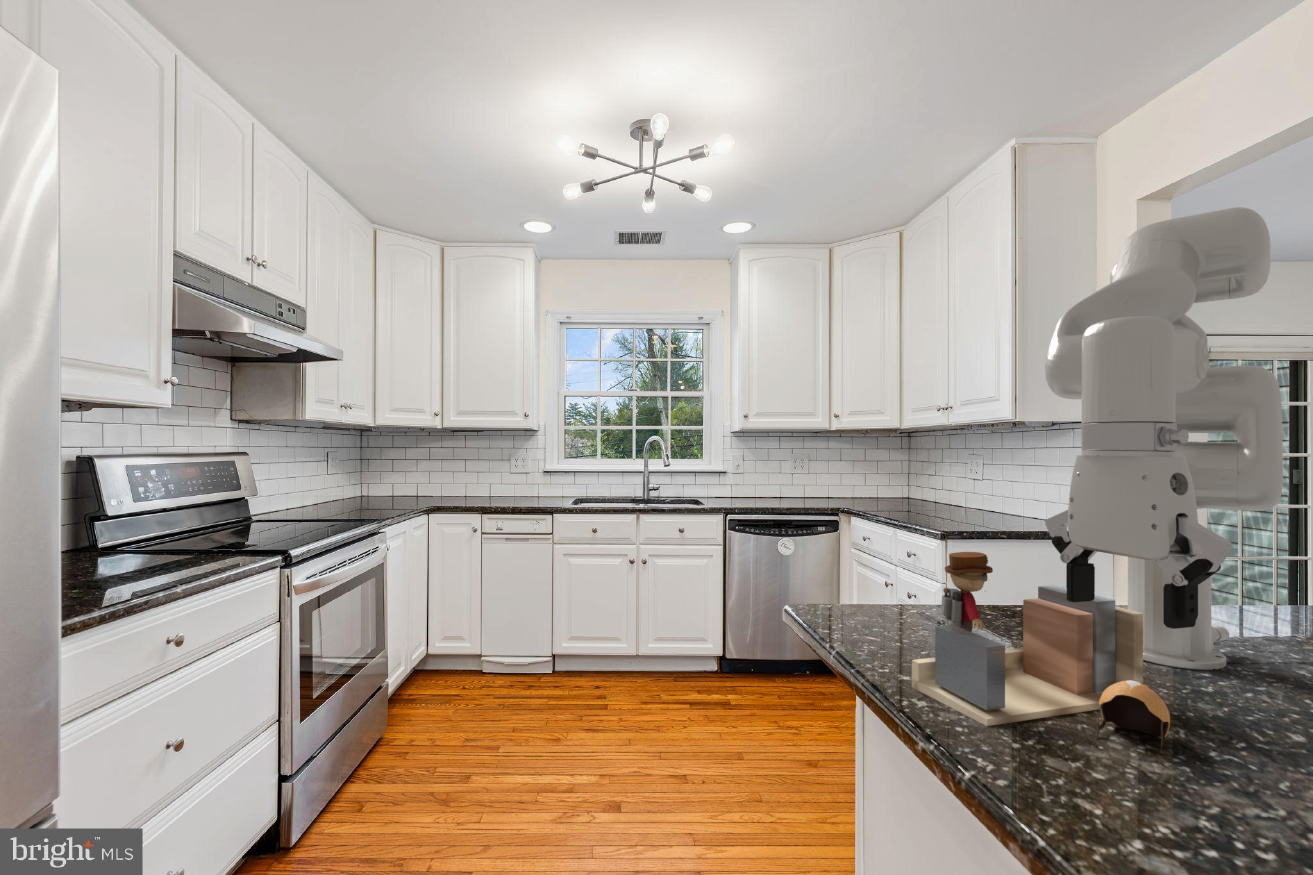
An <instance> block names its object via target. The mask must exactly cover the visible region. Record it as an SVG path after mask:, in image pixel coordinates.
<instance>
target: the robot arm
mask: <svg viewBox="0 0 1313 875" xmlns="http://www.w3.org/2000/svg"><path fill="white" fill-rule="evenodd" d="M1269 231H1270V230H1269V229H1268V226H1267V223H1266V221H1265V220H1264V218H1263V217H1262V216H1261V215H1260V214H1259V213H1258V212H1256V211H1255V210H1254V209H1251V208H1248V207H1247V208H1246V207H1231V208H1230V207H1229V208H1225V209H1224V208H1223V209H1219V210H1214V211H1209V212H1203V213H1198V214H1192V215H1186V216H1183V217H1176V218H1171V219H1167V220H1162V221H1156V222H1153V223H1150V224H1148V225H1146V226H1142V227H1141V228H1139V229H1137V230H1136V231H1134V232H1133V233H1131V234H1130V235H1129V236H1128V237H1127V238H1126V240H1125V241H1124V242H1123V244H1122V246H1121V248H1120V250H1119V251H1120V252H1119V254H1118V259H1117V262H1116V263H1115V264H1114V265H1113V267H1111V270H1110V273H1109V283H1108V284H1107V285H1105V286H1103V287H1102V288H1100V289H1099V290H1096V291H1095V292H1093V293H1091V294H1090V295H1088V296H1087V297H1085V298H1083V299H1082V300H1080V301H1079V302H1077V303H1075V304H1073V306H1070V308H1069V309H1067V310H1066V311H1065V312H1064V314H1062V315H1061V316H1060V318H1059V320H1058V321H1057V323H1056V325H1055V328H1054V330H1053V334H1052V336H1051V340H1050V342H1049V345H1048V348H1047V351H1046V358H1045V363H1044V375H1045V379H1046V380H1045V381H1046V383H1047V386H1048V387H1049V389H1050V391H1051V392H1052V393H1054V394H1055V395H1056V396H1058V397H1060V398H1063V399H1067V400H1081V452H1080V453H1081V454H1080V455H1076V458H1075V462H1074V465H1073V470H1072V476H1071V481H1070V487H1069V494H1068V496H1069V497H1068V509H1067V510H1064V511H1062V512H1060V513H1058V514H1055V515H1053V516H1051V517H1049V518H1047V519H1046V520H1045V522H1044V523H1045V526H1046V528H1047V530H1048V533H1049V536H1050V537H1051V538H1052V539H1051V544H1052V545H1053V547H1054V548H1055V549H1056V551H1057V552H1058V553H1059V554H1060V556H1059V558H1060V561H1061V562H1062V563H1064V564H1066V566H1065V567H1066V568H1065V569H1066V576H1065V578H1066V581H1065V582H1066V587H1065V588H1067V600H1068V601H1070V602H1086V601H1092V600H1094V599H1095V595H1096V593H1095V592H1096V591H1095V590H1096V589H1095V587H1096V586H1095V585H1096V581H1095V580H1096V579H1095V578H1096V576H1095V574H1096V570H1095V569H1096V568H1095V564H1094V563H1091V562H1089V561H1091V559H1092V558H1093V557H1094V556H1095V555H1096V554H1097V552H1099V553H1105V554H1110V555H1114V556H1115V555H1117V556H1119V557H1120V556H1122V557H1127V609H1128V610H1132V611H1136V612H1140V613H1143V661H1146V662H1149V663H1153V664H1156V665H1161V666H1167V667H1171V668H1177V669H1178V668H1179V669H1188V670H1196V671H1197V670H1200V671H1211V670H1213V669H1215V670H1219V669H1220V668H1221V669H1223V668H1225V667H1226V666H1227V657H1226V656H1225V654H1223V653H1222V652H1221V651H1219V650H1217V649H1214V643H1215V642H1218V641H1219V642H1220V641H1225V640H1228V639H1229V638H1230V632H1229V630H1228V629H1226V628H1225V627H1223V626H1215V627H1214V626H1212V576H1214V574H1216V573H1217V572H1220V570H1221V568H1222V564H1223V563H1224V562H1225V561H1226V559H1227V557H1228V556H1229V554H1230V553H1231V551H1232V550H1233V547H1234V545H1233V543H1232V542H1231V541H1230V540H1228V539H1226V538H1225V537H1223V536H1221V535H1219V534H1218V533H1216V532H1214V531H1212V530H1210V529H1209V528H1207V527H1205V526H1204V525H1201V523H1199V515H1198V509H1212V510H1213V509H1214V510H1226V511H1227V510H1230V511H1247V512H1248V511H1253V512H1254V511H1255V512H1258V511H1259V512H1260V511H1265V510H1266V511H1267V510H1270V509H1272V508H1275V506H1276V505H1277V504H1278V503H1279V501H1280V500H1281V497H1282V494H1283V489H1284V488H1283V486H1284V485H1283V484H1284V466H1283V465H1284V462H1283V461H1284V458H1283V456H1284V452H1283V446H1284V445H1283V410H1282V408H1283V407H1282V394H1281V393H1282V392H1281V388H1280V385H1279V382H1278V380H1277V377H1276V376H1275V374H1274V373H1273V372H1272V371H1271V370H1269V369H1268V368H1265V367H1262V366H1259V365H1229V366H1214V367H1212V366H1209V365H1210V352H1209V348H1208V336H1207V334H1206V332H1205V331H1204V330H1203V328H1202V327H1201V326H1200V325H1199V324H1198V323H1197V322H1195V321H1194V320H1193V319H1192V318H1190V317H1189V316H1188V315H1187V313H1188V312H1189V311H1190V309H1191V308H1192V307H1193V305H1194V304H1199V303H1207V302H1215V301H1216V302H1217V301H1224V300H1234V299H1241V298H1246V297H1249V296H1252V295H1254V294H1257V293H1258V292H1259V291H1261V290H1262V289H1263V287H1264V286H1265V285H1266V283H1267V281H1268V279H1269V275H1270V271H1271V236H1270V232H1269ZM1189 434H1229V435H1232V436H1234V437H1235V438H1236V439H1237V441H1231V442H1230V441H1188V440H1189V439H1190V438H1189ZM1067 529H1068V530H1067ZM1213 671H1214V670H1213Z"/></svg>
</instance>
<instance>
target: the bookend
mask: <svg viewBox="0 0 1313 875" xmlns="http://www.w3.org/2000/svg"><path fill="white" fill-rule="evenodd" d="M934 627H935V631H934V632H935V633H934V635H935V636H934V637H935V639H934V640H935V641H934V643H935V644H934V645H935V647H934V648H935V650H934V651H935V652H934V653H935V654H934V657H935V683H936V684H938V685H940V686H942V687H944V688H945V689H947V690H949V691H951V692H953V693H955V694H957V695H959V696H960V697H962V698H964V699H966V700H968V701H970V702H972V703H974V704H975V705H977V706H979V707H981V708H983V709H985V710H987V711H988V710H995V709H1002V708H1005V649H1006V645H1005V644H1003V643H1000V642H998V641H996V640H992V639H990V638H987V637H985V636H982V635H979V634H977V633H975V632H973V631H972V632H970V631H967V630H965V629H962V628H959V627H957V626H954V625H951V624H946V625H936V626H934Z"/></svg>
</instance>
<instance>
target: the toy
mask: <svg viewBox="0 0 1313 875" xmlns="http://www.w3.org/2000/svg"><path fill="white" fill-rule="evenodd" d="M948 558H949V561H948V562H949V564H948V565H946V566H945V567H944V571H945V573H947V574H949V575H950V578H951V579H950V580H951V581H952V583H953V585H954V586H955V587H956V588H949V587H943V589H942V591H943V595H942V596H941V607H940V614H941V615H943V616H944V620H946V621H947V622H948V621H949V622H950V625H954V626H957V627H959V628H962V629H965V630H967V631H970V632H972V633H973V629H977V630H978V631H983V629H984V628H986V625H985V623H984V622H983V621H982V616H981V614H980V612H979V610H978V607H977V602H976V599H975V597H974V595H973V593H974V592H979V591H981V590H982V589H983V588H984V584H985V582H988V574H992V573H993V572H994V571H993V570H994V569H993V567H992V566H990V565H988V564H989V559H988V555H987V554H985V553H983V552H979V551H961V552H960V551H958V552H953V553H952V552H951V553H949V554H948Z"/></svg>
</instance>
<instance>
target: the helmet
mask: <svg viewBox="0 0 1313 875" xmlns="http://www.w3.org/2000/svg"><path fill="white" fill-rule="evenodd" d="M1099 706H1100V709H1099V713H1098V717H1100V715H1101V717H1102V722H1101V724H1100V719H1098V723H1097V733H1096V740H1098V739H1099V735H1100V734H1099V733H1100V731H1102V729H1103V728H1104V727H1105V725H1106V724H1107V723H1111V724H1112V725H1113V726H1115V727H1117V728H1119V729H1130V730H1134V731H1135V730H1136V731H1138V732H1143V733H1146V734H1149V735H1151V736H1153V737H1155V738H1158V739H1161V742H1160V748H1162V747H1163V745H1164V742H1165V739H1166V738H1167V736H1168V734H1169V730H1170V727H1171V726H1170V725H1171V715H1170V711H1169V709H1168V707H1167V704H1166V703H1165V702H1164V700H1163V699H1162V698H1161V697H1160V696H1159V695H1158V694H1157V693H1156V692H1155V691H1154V690H1152V689H1151V688H1150V687H1148V686H1147V685H1145V684H1144V683H1143V684H1141V683H1139V682H1136V681H1132V680H1127V681H1121V682H1117V683H1115V684H1113V685H1111V686H1109V687H1108V688H1107V689H1105V690H1104V692H1103V693H1102V695H1101V698H1100V701H1099ZM1161 750H1162V749H1160V750H1159V754H1158V756H1159V755H1161V752H1162V751H1161Z"/></svg>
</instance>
